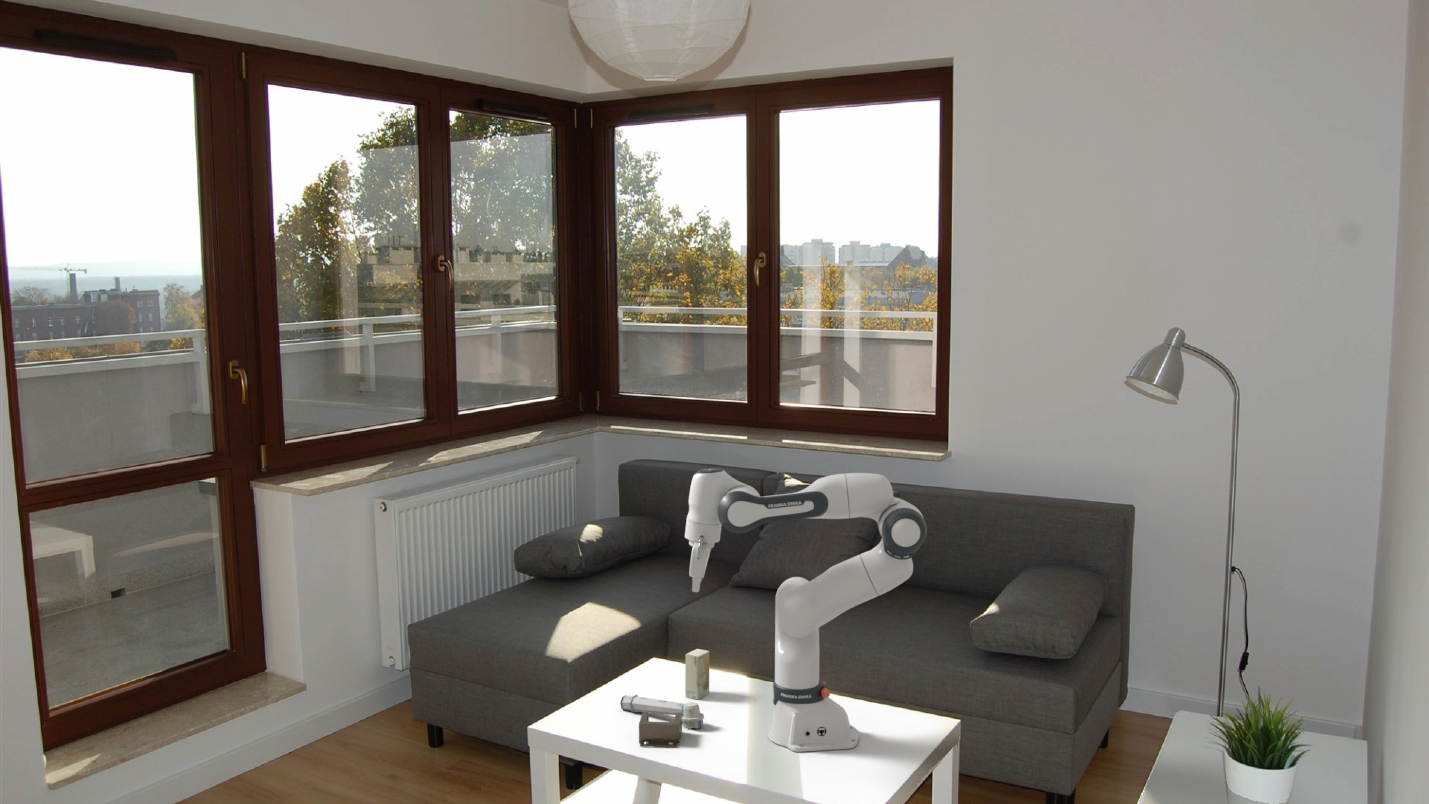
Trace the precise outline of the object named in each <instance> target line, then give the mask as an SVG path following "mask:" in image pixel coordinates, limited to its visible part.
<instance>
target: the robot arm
mask: <svg viewBox="0 0 1429 804" xmlns="http://www.w3.org/2000/svg"><path fill="white" fill-rule="evenodd" d="M688 495H689V496H688V512H687V513H688V514H687V515H686V519H685V520H686V522H685V531H684V538H685V539H687V540H688V545H689V546H690V547H692V549H691V554H690V561H689V572H688V573H689V577H690V578H691V580H692V585H691V587H692V588H691V591H692V592H693V593H699V592H700V590H701V583H702V581H703V579H704V577H705V574H706V570H707V566H708V561H709V560H710V559H709V558H710V556H711V555H710V553H711V551H712V549H713V548H715V544H716V543H719V542H720V541H721V534H722V527H723V528H724V529H725V530H726V531H728V532H731V533H734V534H745V533H747V532H751V531H752V530H754V529H756V528H757V527H759V526H761V525H764V524H771V523H776V522H777V523H778V522H785V521H793V520H794V521H795V520H803V519H804V520H805V519H823V520H825V519H826V520H845V519H855V518H867V519H872V520H874V521H875V523H876V526H877V527H878V528H877V529H878V533H879V534H880V536H881V540H880V541H879V543H878V544H877V545H876V546H875V547H873V548H872V549H870V550H868V551H865V552H862V553H860V554H858V555H856V556H852V557H850V558H849V559H846V560H843V561H842V562H839V563H837V564H834V565H833V566H831V567H829V568H828V569H826V571H824V572H822V573H821V574H819V575H817V576H816V577H815V578H812V579H811V580H808V579H806V578H804V577H801V576H792V577H789V578H788V579H785V580H784V581H783V582H782V583H781V584H780V586H779V587H778V588H777V591H776V594H775V598H774V599H775V601H774V605H775V606H774V608H775V610H774V611H775V612H774V615H775V618H774V621H775V622H774V624H775V625H774V626H775V628H774V629H775V630H774V631H775V633H774V638H775V639H774V640H775V641H774V648H775V649H774V680H773V681H772V682H773V684H772V703H773V711H772V717H771V723H770V727H769V731H768V734H767V736H768V738H769V740H770V741H772V742H773V743H775V744H777V745H779V746H783V747H786V748H787V749H789V750H791V751H793V752H796V753H800V752H801V753H802V752H817V751H828V750H829V751H833V750H834V751H835V750H850V749H854V748H855V747H857V745H858V744H859V742H860V741H859V732H858V730H857V729H856V727H855V726H854V725H852V724H851V723H850V721H849V716H848V713H847V711H846V710H845V709H844V707H843V706H841V705H840V704H839V703H837V702H836V701H834V700H833V699H832V698H831V697H830V695H831V694H830V690H829V689H828V685H827V684H826V682H825V680H823V681H822V680H820V627H822V626H824V625H825V624H827V623H829V622H831V621H832V620H834V619H835V618H836V617H838V616H840V615H841V614H843V613H845V612H847V611H848V610H850V609H852V608H854V607H857V606H858V605H861V604H863V603H866V602H868V601H870V600H872V599H874V598H877V597H879V596H882V595H884V594H886V593H888V592H889V591H892V590H893V589H895V588H897V587H898V586H900V585H901V584H903V583H904V582H907V581H908V580H909V579H910V578H911V576H912V575H913V572H914V562H913V559H912V558H913V556H914V555H915V554H916V553H917V551H918V550H919V548H920V547H921V546H922V544H923V543H924V542H925V540H926V537H927V533H928V531H927V530H928V528H927V527H928V526H927V523H926V520H925V518H924V516H923V514H922V512H921V511H920V509H918V508H917V507H916V506H915V505H914V504H913V503H912V502H910V501H909V500H907V499H905V498H902V497H900V496H898V495H896V494H894V490H893V486H892V484H891V482H890V480H889V478H887V477H886V476H885V475H883V474H879V473H870V472H869V473H868V472H848V473H847V472H846V473H837V474H830V475H827V476H824V477H823V476H822V477H819V478H818V479H816V480H815V481H813V482H812V483H811V484H810V485H808V486H806V488H803V489H802V490H798V491H797V492H791V493H783V494H772V495H766V496H765V495H764V496H760V493H759V491H758V490H757V489H755V488H754V487H753V486H751V485H748V484H746V483H743V482H741V481H740V480H737V479H736V478H734V477H732V476H731V475H730V474H729V473H727V471H725V470H724V469H723V468H718V467H706V468H701V469H699V470H698V471H696V472H695V473H694V474H693V476H692V479H691V484H690V488H689V494H688Z"/></svg>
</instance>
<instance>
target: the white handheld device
mask: <svg viewBox="0 0 1429 804" xmlns="http://www.w3.org/2000/svg"><path fill="white" fill-rule="evenodd" d="M619 704H620V708H621V709H622V710H623V711H628V712H632V713H634V714H635V713H637V712H638V713H643V712H649V714H656V715H657V714H659V715H668V716H669V715H671V716H675V715H676V713H682V727H683V726H684V727H683V728H685V729H686V728H689V729H688V730H692V729H691V728H693V729H694V728H695V729H700V728H703V727H704V721H703V720H704V718H705V714H704V713H702V712H701V710H700V706H699V704H698V702H694V701H693V702H687V703H683V702H682V703H681V702H675V701H670V700H664V699H656V698H650V697H646V696H645V697H643V696H639V695H637V694H635V695H628V694H627V695H623V696H622V697H621V700H620V703H619Z"/></svg>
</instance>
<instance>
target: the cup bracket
mask: <svg viewBox="0 0 1429 804" xmlns="http://www.w3.org/2000/svg"><path fill="white" fill-rule="evenodd" d="M641 713H642V714H641V717H640V719H639V723H638V744H639V747H640V746H654V747H653V748H675V749H676V747H678V745H680V744H679V743H681V738H682V735H681V734H682V733H683V721H682V713H676V715H674V720H673V721H672V722H671V721H650V720H649V719H650V717H649V716H650V713H649V712H641Z"/></svg>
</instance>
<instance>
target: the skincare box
mask: <svg viewBox="0 0 1429 804" xmlns="http://www.w3.org/2000/svg"><path fill="white" fill-rule="evenodd" d="M684 667H685V674H684V675H685V676H684V677H685V678H684V679H685V682H684V683H685V684H684V685H685V686H684V689H685V692H684V693H685V694H684V697H686V698H689V699H692V700H693V699H694V700H700V699H702V698H703V697H705V696H707V695H709V694H710V651H709V650H706V649H700V648H696V649H694V650H692V651H689V652H688V653H686V654H685V666H684ZM708 693H709V694H708Z"/></svg>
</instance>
